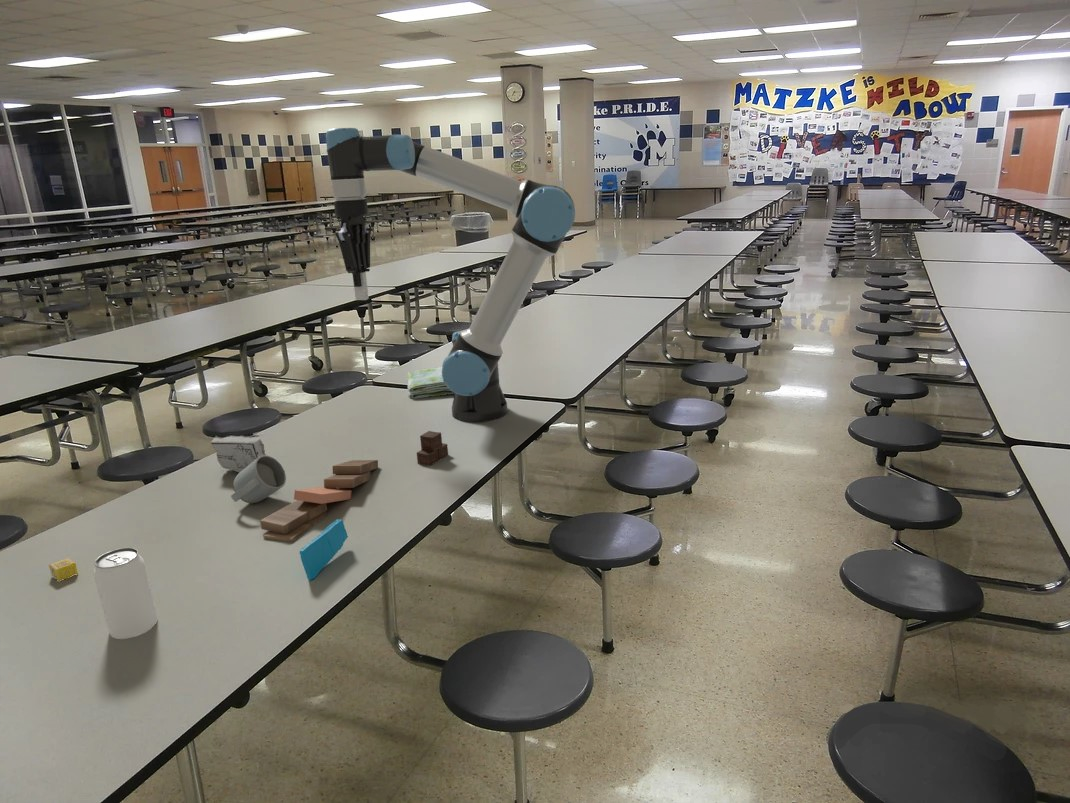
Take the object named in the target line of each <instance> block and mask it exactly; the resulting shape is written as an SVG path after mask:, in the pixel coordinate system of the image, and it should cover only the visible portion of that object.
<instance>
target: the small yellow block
mask: <svg viewBox="0 0 1070 803" xmlns="http://www.w3.org/2000/svg"><path fill="white" fill-rule="evenodd" d="M48 568H49V572H50V576H51V577H52V576H53V577H54V578H55V579H57V580H58V581H60V580H62V579H65V578H68V577H70V576H72V575H74V574H78V575H79V573H78V569H77V568H78V567H77V564H76V562H74V561H73V560H71V559H70V558H69V557H66V558H63V559H60V560H58V561H55V562H51V563H49V564H48ZM55 579H54V580H55ZM58 581H57V582H58Z"/></svg>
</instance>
